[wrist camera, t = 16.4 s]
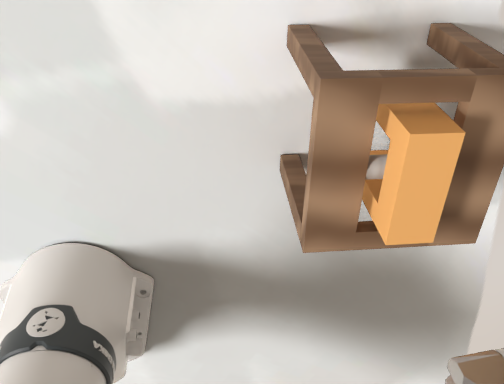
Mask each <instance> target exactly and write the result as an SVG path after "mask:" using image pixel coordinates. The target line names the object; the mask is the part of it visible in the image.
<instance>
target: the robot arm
mask: <svg viewBox="0 0 504 384" xmlns="http://www.w3.org/2000/svg"><path fill="white" fill-rule="evenodd" d="M153 288H154V280H153V278H152V277H151V276H149V275H147V274H145V273H142V272H140V271H137V270H134V269H133V268H131V267H130V266H128V265H127V264H126V263H125V262H124V261H123V260H121V259H120V258H119V257H117V256H116V255H114V254H112V253H111V252H109V251H107V250H104V249H102V248H99V247H96V246H92V245H87V244H80V243H63V244H56V245H52V246H48V247H45V248H42V249H40V250H38V251H36V252H35V253H33V254H32V255H30V256H29V257H28V258H27V259H26V260H25V261H24V262H23V264H22V265H21V267H20V269H19V271H18V272H17V274H16V275H15V276H14V277H12V278H11V279H9V280H7V281H6V282H4V283H3V284H2V285H1V287H0V298H1V300H2V301H3V302H4V306H3V309H2V312H1V315H0V384H112V383H115V382H117V381H119V380H120V379H122V378H123V377H124V376H125V374H126V368H127V362H129V361H132V360H134V359H136V358H139V357H140V356H142V355H143V354H144V351H145V347H146V340H147V332H148V325H149V318H150V310H151V303H152V296H153ZM142 290H145V291H142ZM447 368H448V370H449V372H450V374H451V375H450V376H449V377H448V378H447V379H446V380H445V384H504V348H502V349H497V350H489V351H484V352H479V353H475V354H469V355H464V356H459V357H454V358H451V359H450V360H448V366H447Z"/></svg>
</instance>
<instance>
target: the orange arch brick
mask: <svg viewBox="0 0 504 384" xmlns="http://www.w3.org/2000/svg"><path fill="white" fill-rule="evenodd" d="M376 121H377V122H378V123H379V125H380V126H381V128H382V129H383V130H384V132H385V133H386V134H387V136H388V137H389V138H390V145H389V150H375V151H370V155H383V154H388V155H387V160H386V165H385V170H384V175H383V179H369V180H365V184H364V190H363V196H362V200H363V202H364V204H365V206H366V208H367V210H368V212H369V214H370V216H371V218H372V220H373V222H374V224H375V226H376V228H377V230H378V232H379V233H380V235H381V237H382V239H383V241H384V243H385V245H400V244H418V243H433V241H434V238H435V234H436V231H437V227H438V224H439V221H440V217H441V214H442V211H443V207H444V204H445V200H446V197H447V194H448V190H449V187H450V184H451V180H452V177H453V173H454V170H455V167H456V163H457V160H458V157H459V153H460V150H461V147H462V143H463V140H464V136H465V133H466V132H465V131H463V130H462V129H461V128H460V127H459V126H458V125H457V124H456V123H455V122H454V121H453V120H452V119H451V118H450V117H449V116H448V115H447V114H446V113H445V112H444V111H443V110H442V109H441V108H440V107H439V106H438V105H437V104H435V103H398V104H379V105H378V111H377V117H376Z"/></svg>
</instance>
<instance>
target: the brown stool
mask: <svg viewBox="0 0 504 384" xmlns="http://www.w3.org/2000/svg"><path fill="white" fill-rule="evenodd" d="M427 45H428V46H430V47H431V48H432V49H434V50H435V51H436V52H438V53H439V54H440V55H442V56H443V57H444V58H446V59H447V60H448V61H450V62H451V63H452V64H454V65H455V66H456V67H458V68H459V69H412V70H361V71H343V70H342V68H341V67H340V66H339V64H338V63H337V62H336V60H335V59H334V58H333V56H332V55H331V54H330V52H329V51H328V50H327V48H326V47H325V46H324V44H323V43H322V42H321V40H320V39H319V38H318V36H317V35H316V33H315V32H314V31H313V29H312V28H311V27H310V25H288V35H287V48H288V49H289V51H290V53H291V55H292V57H293V59H294V61H295V63H296V65H297V67H298V68H299V70H300V72H301V74H302V76H303V78H304V80H305V82H306V84H307V85H308V87H309V89H310V91H311V93H312V95H313V97H314V100H313V111H312V122H311V132H310V143H309V153H308V164H307V175H306V173H305V171H304V168H303V165H302V162H301V160H300V157H299V154H294V155H281V158H280V173H281V176H282V180H283V184H284V187H285V191H286V194H287V198H288V201H289V205H290V208H291V212H292V215H293V219H294V222H295V226H296V229H297V233H298V236H299V240H300V243H301V247H302V250H303V253H309V252H327V251H345V250H363V249H381V248H399V247H417V246H435V245H453V244H471V243H476V240H477V237H478V234H479V232H480V229H481V226H482V223H483V221H484V218H485V215H486V212H487V210H488V207H489V204H490V201H491V199H492V196H493V193H494V190H495V188H496V185H497V182H498V179H499V177H500V174H501V171H502V168H503V166H504V55H503V54H502V53H500V52H498V51H497V50H495V49H493V48H492V47H490V46H488V45H487V44H485V43H483V42H482V41H480V40H478V39H477V38H475V37H473V36H472V35H470V34H468V33H467V32H465V31H463V30H461V29H460V28H458V27H456V26H455V25H453V24H451V23H431V26H430V31H429V36H428V40H427ZM435 102H458V106H457V109H456V113H455V117H454V120H453V121H454V122H455V123H456V124H457V125H458V126H459V127H460V128H461V129H462V130H463V131H465V132H466V133H465V136H464V140H463V143H462V147H461V150H460V153H459V157H458V160H457V163H456V167H455V170H454V173H453V177H452V180H451V184H450V187H449V190H448V194H447V197H446V200H445V204H444V207H443V211H442V214H441V217H440V221H439V224H438V227H437V231H436V234H435V238H434V241H433V243H418V244H400V245H385V243H384V241H383V239H382V237H381V235H380V233H379V232H378V230H377V228H376V226H375V224H374V222H373V221H363V222H358V218H359V213H360V207H361V201H362V196H363V190H364V184H365V180H369V179H383V175H384V170H385V165H386V160H387V155H388V154H383V155H370V150H371V145H372V139H373V133H374V128H375V122H376V117H377V111H378V105H379V104H398V103H435Z"/></svg>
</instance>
